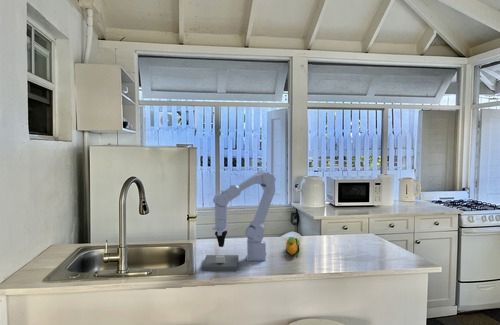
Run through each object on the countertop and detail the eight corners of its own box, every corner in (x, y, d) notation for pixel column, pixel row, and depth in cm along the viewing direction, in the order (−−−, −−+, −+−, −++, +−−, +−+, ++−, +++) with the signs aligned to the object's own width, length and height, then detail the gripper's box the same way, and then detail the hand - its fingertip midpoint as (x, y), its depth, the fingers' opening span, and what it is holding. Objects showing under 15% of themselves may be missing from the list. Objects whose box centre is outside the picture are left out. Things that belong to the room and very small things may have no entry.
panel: (238, 259, 168) (238, 254, 168) (236, 270, 152) (236, 266, 152) (206, 259, 168) (206, 254, 168) (201, 270, 152) (201, 266, 152)
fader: (224, 261, 158) (224, 254, 158) (224, 263, 156) (224, 256, 155) (216, 261, 158) (216, 254, 158) (215, 263, 156) (215, 256, 155)
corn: (298, 234, 187) (300, 244, 167) (299, 247, 187) (301, 259, 167) (285, 234, 187) (285, 245, 168) (286, 248, 188) (286, 260, 168)
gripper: (214, 215, 169) (214, 242, 169) (210, 221, 154) (211, 251, 155) (228, 215, 169) (228, 242, 169) (226, 221, 154) (226, 251, 155)
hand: (221, 246), depth 162 cm, fingers closed
